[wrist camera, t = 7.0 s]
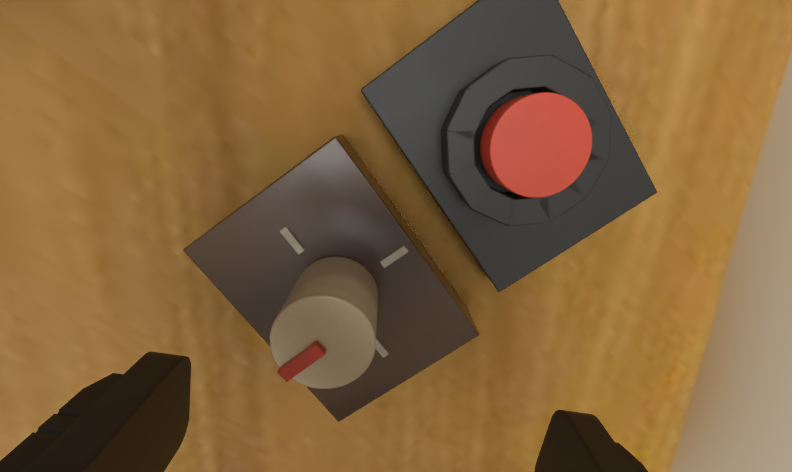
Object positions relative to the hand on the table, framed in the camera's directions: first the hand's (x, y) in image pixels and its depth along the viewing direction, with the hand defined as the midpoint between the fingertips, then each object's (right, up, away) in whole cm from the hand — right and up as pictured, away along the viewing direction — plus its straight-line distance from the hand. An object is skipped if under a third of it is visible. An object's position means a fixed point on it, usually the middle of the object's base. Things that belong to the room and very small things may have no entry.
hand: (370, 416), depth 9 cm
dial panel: (-2, +2, +13) cm, 14 cm away
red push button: (+6, +8, +8) cm, 13 cm away
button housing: (+6, +9, +12) cm, 16 cm away
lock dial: (-2, +1, +11) cm, 11 cm away
